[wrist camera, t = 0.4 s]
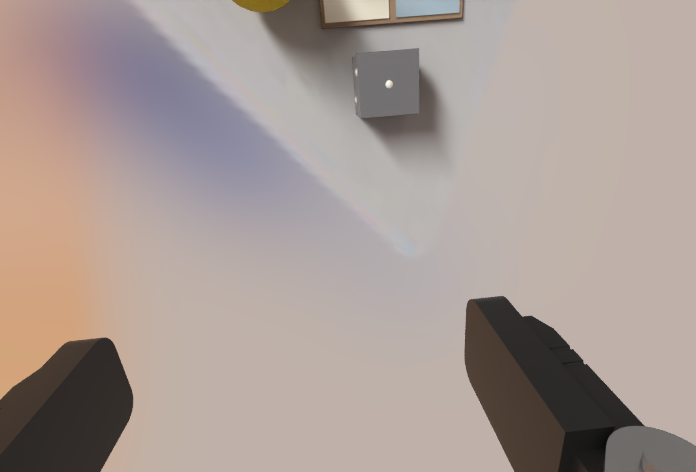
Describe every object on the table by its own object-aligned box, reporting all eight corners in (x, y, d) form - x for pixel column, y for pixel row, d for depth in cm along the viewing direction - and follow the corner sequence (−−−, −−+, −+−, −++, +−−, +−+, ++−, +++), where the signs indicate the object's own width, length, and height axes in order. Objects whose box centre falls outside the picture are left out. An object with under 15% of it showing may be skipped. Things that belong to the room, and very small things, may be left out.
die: (350, 57, 28) (355, 53, 25) (407, 53, 29) (420, 47, 25) (354, 115, 30) (359, 120, 26) (408, 111, 30) (421, 114, 26)
